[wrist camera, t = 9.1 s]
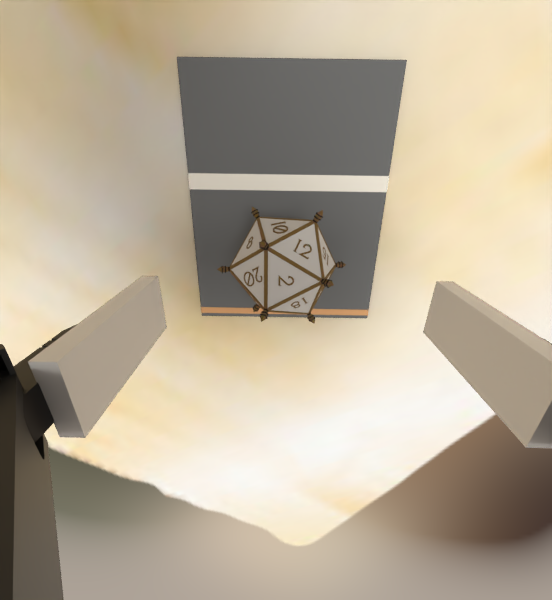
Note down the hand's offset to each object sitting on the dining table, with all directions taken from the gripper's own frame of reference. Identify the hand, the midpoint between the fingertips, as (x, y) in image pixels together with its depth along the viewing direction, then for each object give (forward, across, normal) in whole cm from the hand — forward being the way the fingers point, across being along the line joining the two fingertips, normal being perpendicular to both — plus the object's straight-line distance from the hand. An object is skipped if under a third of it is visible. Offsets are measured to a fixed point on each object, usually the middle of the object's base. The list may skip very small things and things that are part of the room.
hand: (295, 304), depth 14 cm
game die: (+12, 0, -1) cm, 12 cm away
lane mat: (+13, 0, +3) cm, 13 cm away
